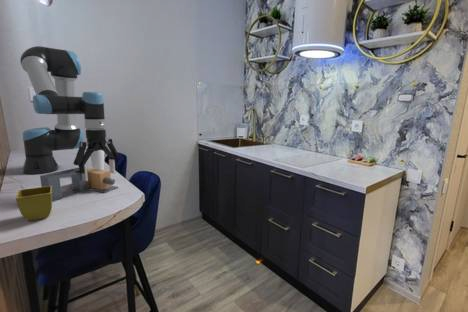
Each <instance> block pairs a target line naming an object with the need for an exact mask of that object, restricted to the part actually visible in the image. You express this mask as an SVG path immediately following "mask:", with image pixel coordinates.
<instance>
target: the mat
mask: <svg viewBox="0 0 468 312" xmlns="http://www.w3.org/2000/svg"><path fill="white" fill-rule="evenodd" d="M70 185H71V186H72V183H70ZM116 188H117V189H119V186H115V185H111V187H108V188H105V189H102V190H101V189H96V188H92V187H89V191H90V190H91V191H94V192H99V193H104V194H105V192H106V193H108V191H109V192H111V191H113V189H114V190H116ZM110 190H111V191H110Z"/></svg>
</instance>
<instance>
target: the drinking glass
mask: <svg viewBox="0 0 468 312" xmlns="http://www.w3.org/2000/svg"><path fill="white" fill-rule="evenodd" d="M90 150H91V149H90ZM90 161H91V162H90V163H91V168H94V169H99V170H104V171H105V152H104V151H103V150H98V151H94V152H93V153H92V154H91V156H90Z"/></svg>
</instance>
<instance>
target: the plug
mask: <svg viewBox="0 0 468 312" xmlns="http://www.w3.org/2000/svg"><path fill="white" fill-rule="evenodd" d="M87 170H88V181H89V187H92V188H96V189H101V190H102V189H105V188H108V187H111V185H112V186H114V184H115V183H116V180H115V178H111V173H110V170H105V169H104V170H99V169H94V168H93V167H87Z"/></svg>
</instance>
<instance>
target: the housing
mask: <svg viewBox="0 0 468 312" xmlns="http://www.w3.org/2000/svg"><path fill="white" fill-rule="evenodd" d="M87 175H88V170H87ZM66 177H70V178H71V184H72V185H71V186H72V191H73V192H74V193H75V192H76V193H79V194H82V193H84V192H88V191H90V189H89V181H83V180H82V175H81V173H80V172H79V167H76V168H75V167H74V168H70V169H65V170H61V171H56V172H50V173H48V174H47V173H45V174H43V175H39V178H40V187H45V186H52V203H53V202H56V201H59V200H63V196H62V187H61V179H62V178H66Z"/></svg>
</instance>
